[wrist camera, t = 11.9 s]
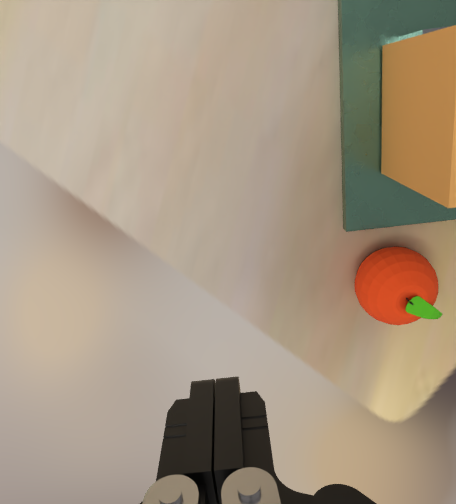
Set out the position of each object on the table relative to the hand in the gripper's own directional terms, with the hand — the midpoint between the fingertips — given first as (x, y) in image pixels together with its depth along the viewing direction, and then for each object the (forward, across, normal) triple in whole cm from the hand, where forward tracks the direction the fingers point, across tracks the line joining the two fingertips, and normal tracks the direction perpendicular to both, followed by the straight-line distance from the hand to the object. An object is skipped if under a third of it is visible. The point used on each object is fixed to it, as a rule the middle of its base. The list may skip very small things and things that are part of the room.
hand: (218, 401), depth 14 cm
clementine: (+27, -15, +9) cm, 32 cm away
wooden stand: (+26, -19, -6) cm, 33 cm away
